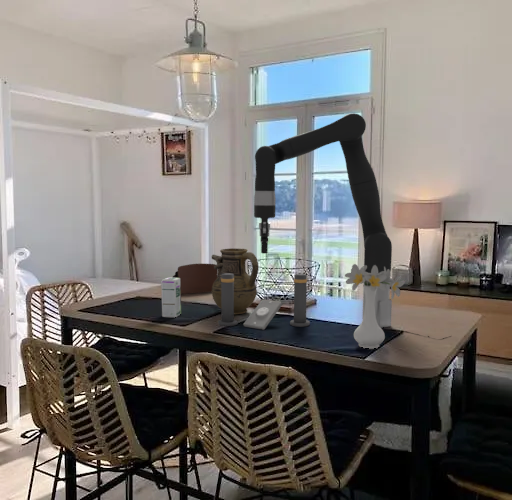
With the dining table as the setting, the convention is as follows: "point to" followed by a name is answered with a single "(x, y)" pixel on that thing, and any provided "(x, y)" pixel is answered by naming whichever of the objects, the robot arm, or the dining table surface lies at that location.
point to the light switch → (263, 314)
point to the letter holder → (196, 278)
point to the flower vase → (371, 302)
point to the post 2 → (300, 301)
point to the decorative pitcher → (236, 277)
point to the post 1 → (227, 300)
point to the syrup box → (171, 297)
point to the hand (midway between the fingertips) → (264, 253)
